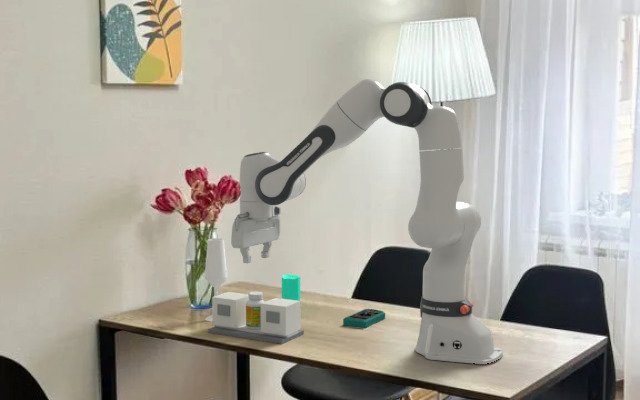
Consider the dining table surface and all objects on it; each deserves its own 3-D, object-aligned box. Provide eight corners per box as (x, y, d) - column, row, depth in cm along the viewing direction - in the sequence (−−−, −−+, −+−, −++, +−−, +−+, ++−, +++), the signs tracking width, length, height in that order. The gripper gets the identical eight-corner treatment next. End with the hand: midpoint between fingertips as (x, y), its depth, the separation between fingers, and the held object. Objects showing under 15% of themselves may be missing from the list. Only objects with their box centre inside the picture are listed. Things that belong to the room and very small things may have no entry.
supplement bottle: (251, 330, 248) (251, 296, 247) (242, 326, 253) (242, 292, 252) (268, 328, 251) (268, 293, 250) (259, 323, 256) (259, 290, 255)
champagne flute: (211, 322, 264) (211, 242, 261) (200, 318, 269) (200, 239, 267) (231, 319, 268) (231, 240, 265) (220, 315, 273) (220, 237, 271)
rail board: (303, 334, 252) (303, 299, 251) (281, 344, 242) (282, 308, 241) (232, 323, 264) (232, 290, 262) (208, 332, 253) (208, 298, 252)
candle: (279, 307, 284) (279, 270, 282) (297, 306, 285) (297, 269, 284) (284, 312, 278) (284, 273, 277) (302, 311, 280) (303, 273, 278)
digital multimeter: (386, 319, 272) (386, 310, 271) (364, 330, 259) (364, 320, 258) (364, 316, 275) (364, 307, 275) (342, 327, 262) (342, 317, 262)
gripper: (245, 215, 238) (245, 267, 240) (284, 207, 256) (284, 255, 258) (225, 214, 241) (225, 265, 243) (265, 206, 259) (265, 254, 261)
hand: (256, 260), depth 250 cm, fingers open, 8 cm apart
